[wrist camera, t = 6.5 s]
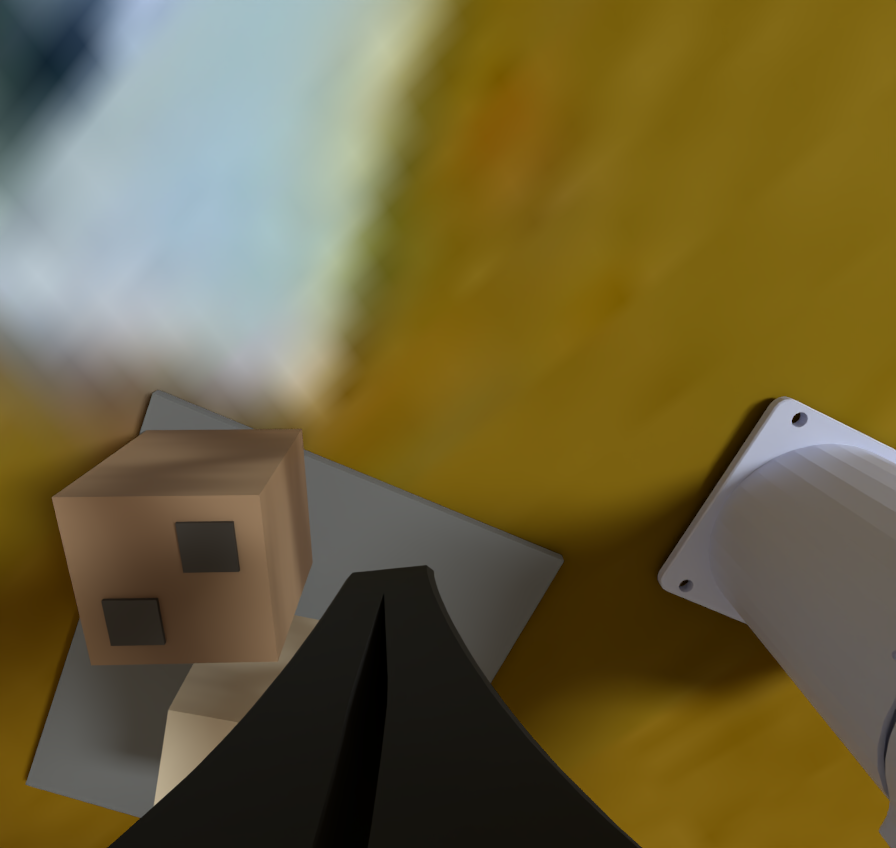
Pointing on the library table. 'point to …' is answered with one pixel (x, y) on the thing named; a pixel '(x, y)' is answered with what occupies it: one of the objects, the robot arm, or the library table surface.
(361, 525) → the felt mat
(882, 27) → the library table surface
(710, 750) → the library table surface
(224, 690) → the plain block
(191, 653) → the pip block two
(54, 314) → the library table surface
